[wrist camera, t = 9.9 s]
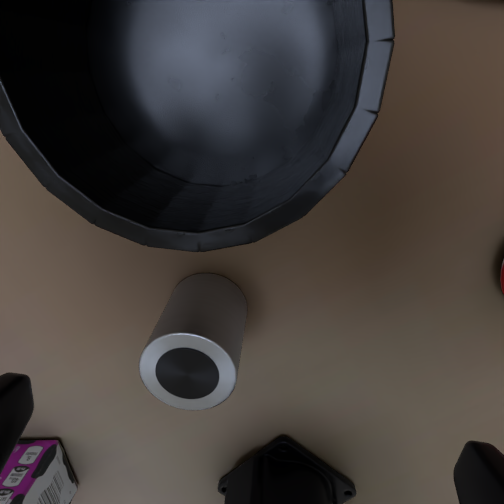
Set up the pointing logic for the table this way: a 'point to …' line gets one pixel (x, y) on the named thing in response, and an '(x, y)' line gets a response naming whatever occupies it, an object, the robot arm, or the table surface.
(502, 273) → the beverage can
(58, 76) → the tin
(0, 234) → the table surface
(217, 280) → the socket
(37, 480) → the candy bar box
